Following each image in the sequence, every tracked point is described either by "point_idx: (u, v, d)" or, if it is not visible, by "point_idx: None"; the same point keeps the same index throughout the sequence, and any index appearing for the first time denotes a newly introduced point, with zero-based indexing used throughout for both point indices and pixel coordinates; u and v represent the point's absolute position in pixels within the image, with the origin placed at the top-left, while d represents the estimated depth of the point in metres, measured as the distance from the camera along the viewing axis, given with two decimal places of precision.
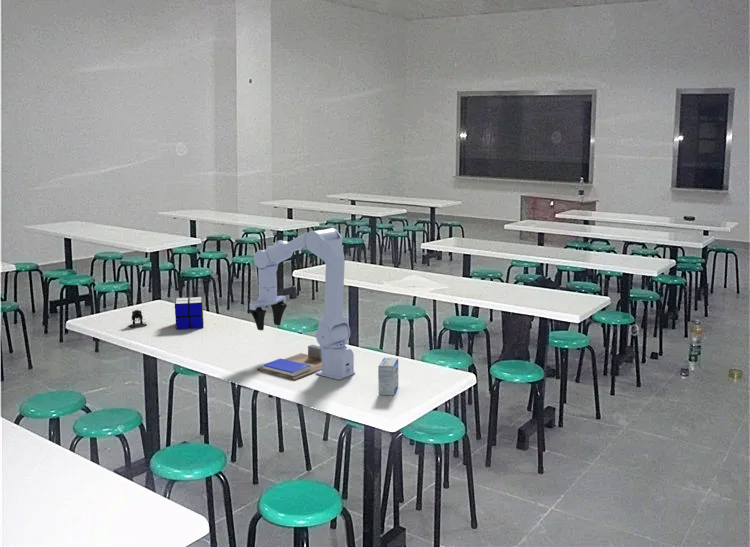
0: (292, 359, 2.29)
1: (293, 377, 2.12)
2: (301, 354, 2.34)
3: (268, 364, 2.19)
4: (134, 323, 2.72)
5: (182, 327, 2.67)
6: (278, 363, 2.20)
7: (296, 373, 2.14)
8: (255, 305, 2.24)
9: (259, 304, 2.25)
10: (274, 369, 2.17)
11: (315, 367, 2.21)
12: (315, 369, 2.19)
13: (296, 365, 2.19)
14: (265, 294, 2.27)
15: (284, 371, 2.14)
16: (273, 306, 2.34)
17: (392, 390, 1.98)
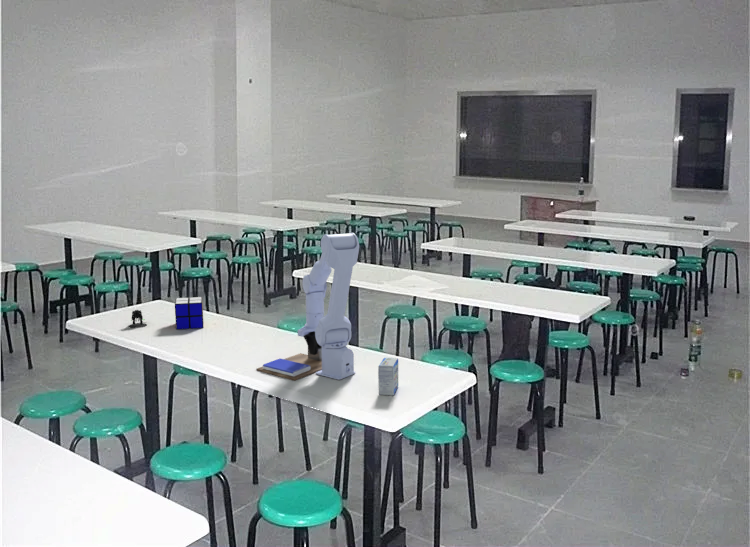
0: (292, 359, 2.29)
1: (293, 377, 2.12)
2: (301, 354, 2.34)
3: (268, 364, 2.19)
4: (134, 323, 2.72)
5: (182, 327, 2.67)
6: (278, 363, 2.20)
7: (296, 373, 2.14)
8: (303, 332, 2.22)
9: (307, 330, 2.23)
10: (274, 369, 2.17)
11: (315, 367, 2.21)
12: (315, 369, 2.19)
13: (296, 365, 2.18)
14: (313, 320, 2.25)
15: (284, 371, 2.14)
16: (314, 333, 2.30)
17: (392, 390, 1.98)
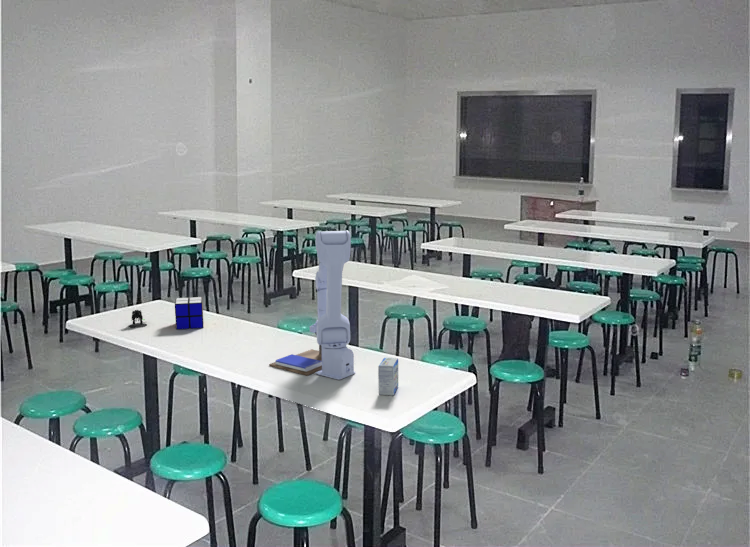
0: (303, 355, 2.33)
1: (305, 372, 2.16)
2: (312, 350, 2.39)
3: (280, 360, 2.24)
4: (134, 323, 2.72)
5: (182, 327, 2.67)
6: (290, 359, 2.24)
7: (308, 369, 2.18)
8: (315, 328, 2.26)
9: None
10: (286, 365, 2.21)
11: None
12: None
13: (308, 360, 2.23)
14: None
15: (296, 367, 2.19)
16: None
17: (392, 390, 1.98)
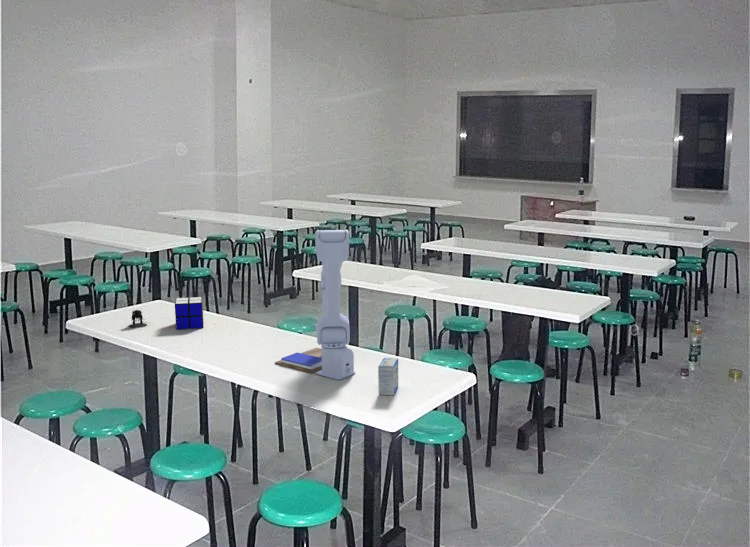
0: (308, 353, 2.35)
1: (311, 370, 2.18)
2: (317, 348, 2.40)
3: (286, 358, 2.26)
4: (134, 323, 2.72)
5: (182, 327, 2.67)
6: (296, 357, 2.26)
7: (314, 366, 2.20)
8: None
9: None
10: (292, 363, 2.23)
11: None
12: None
13: (313, 358, 2.25)
14: None
15: (302, 364, 2.20)
16: None
17: (392, 390, 1.98)
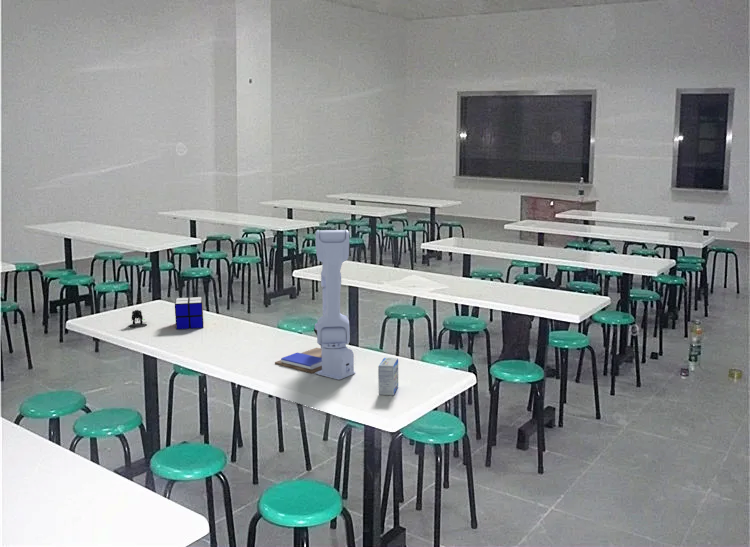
0: (308, 353, 2.35)
1: (311, 370, 2.18)
2: (317, 348, 2.40)
3: (286, 358, 2.26)
4: (134, 323, 2.72)
5: (182, 327, 2.67)
6: (296, 357, 2.26)
7: (314, 366, 2.20)
8: None
9: None
10: (292, 363, 2.23)
11: None
12: None
13: (313, 358, 2.25)
14: None
15: (302, 364, 2.20)
16: None
17: (392, 390, 1.98)
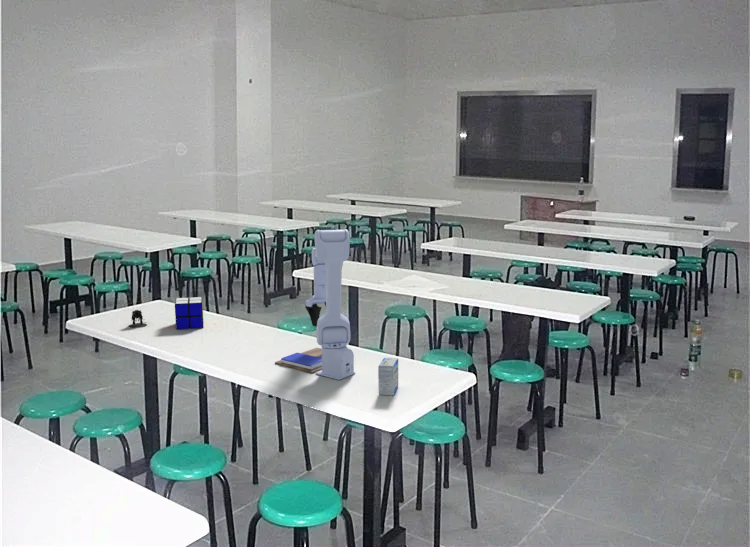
0: (308, 353, 2.35)
1: (311, 370, 2.18)
2: (317, 348, 2.40)
3: (286, 358, 2.26)
4: (134, 323, 2.72)
5: (182, 327, 2.67)
6: (296, 357, 2.26)
7: (314, 366, 2.20)
8: (311, 302, 2.31)
9: (315, 301, 2.32)
10: (292, 363, 2.23)
11: None
12: None
13: (313, 358, 2.25)
14: (320, 291, 2.34)
15: (302, 364, 2.20)
16: (326, 303, 2.41)
17: (392, 390, 1.98)
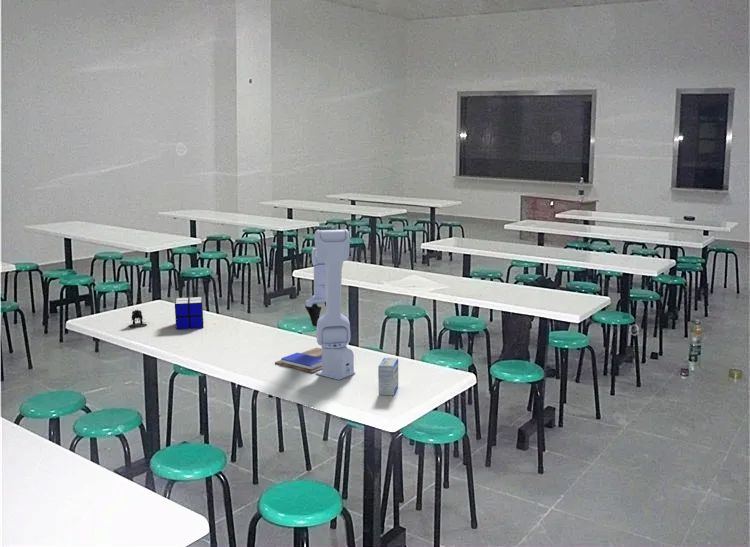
0: (308, 353, 2.35)
1: (311, 370, 2.18)
2: (317, 348, 2.40)
3: (286, 358, 2.26)
4: (134, 323, 2.72)
5: (182, 327, 2.67)
6: (296, 357, 2.26)
7: (314, 366, 2.20)
8: (311, 302, 2.31)
9: (315, 301, 2.32)
10: (292, 363, 2.23)
11: None
12: None
13: (313, 358, 2.25)
14: (320, 291, 2.34)
15: (302, 364, 2.20)
16: (326, 303, 2.41)
17: (392, 390, 1.98)
